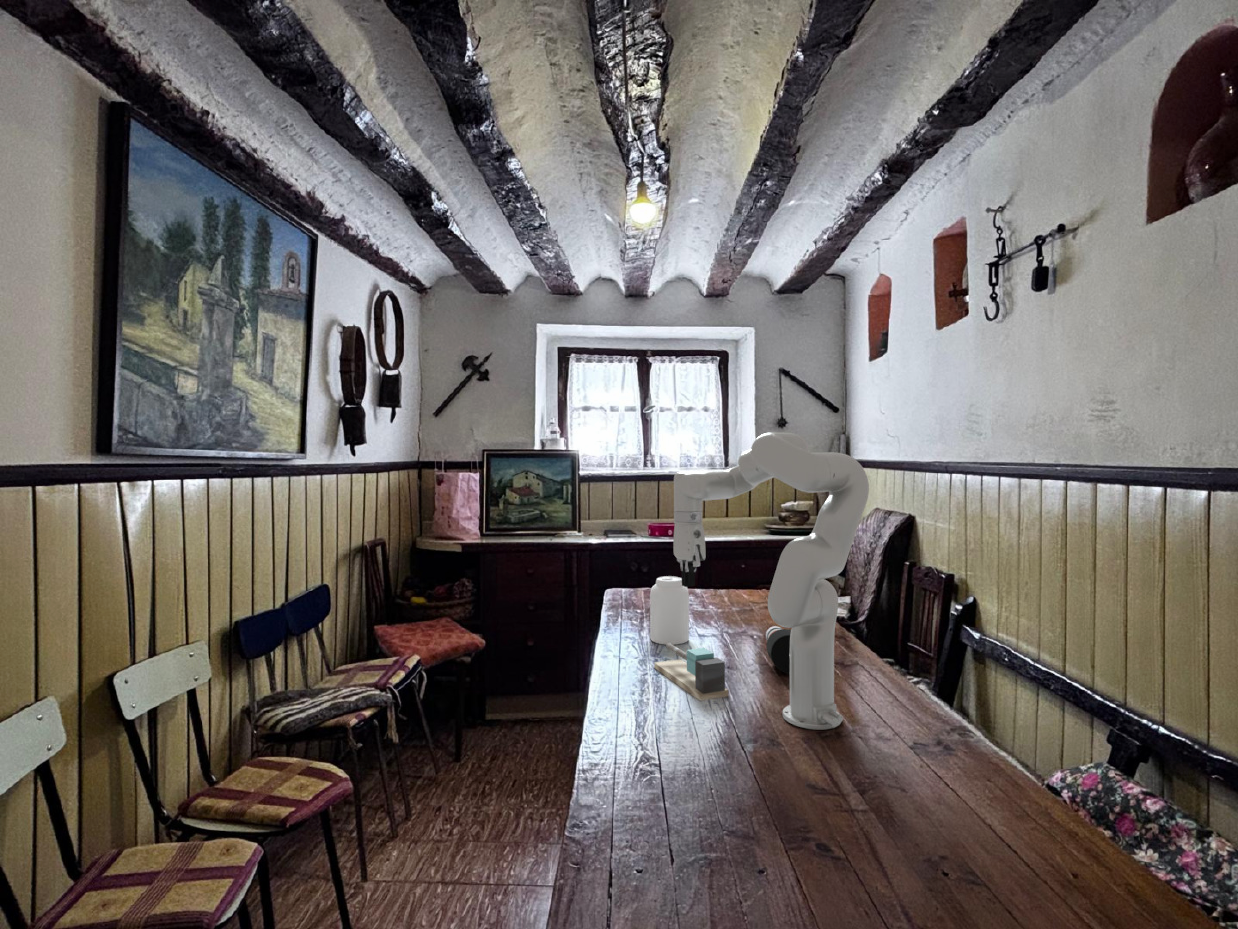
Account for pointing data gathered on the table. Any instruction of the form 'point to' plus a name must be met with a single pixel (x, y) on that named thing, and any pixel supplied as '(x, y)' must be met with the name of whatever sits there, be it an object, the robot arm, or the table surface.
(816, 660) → the robot arm
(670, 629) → the white jar
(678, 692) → the table surface
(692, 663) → the sleeve
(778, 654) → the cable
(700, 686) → the wooden slide rail
